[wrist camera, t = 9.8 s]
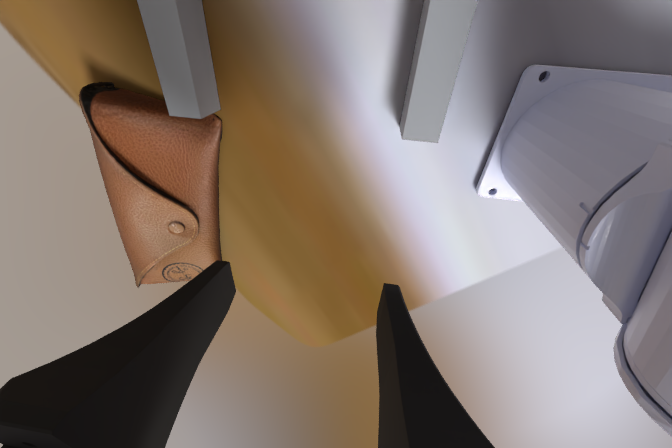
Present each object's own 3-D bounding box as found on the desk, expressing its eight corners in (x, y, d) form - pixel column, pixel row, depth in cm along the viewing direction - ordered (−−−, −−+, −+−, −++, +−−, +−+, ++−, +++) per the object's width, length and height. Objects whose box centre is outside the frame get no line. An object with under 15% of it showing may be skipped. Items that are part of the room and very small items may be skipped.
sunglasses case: (230, 285, 29) (163, 324, 24) (192, 249, 32) (127, 278, 27) (224, 109, 18) (105, 118, 14) (169, 80, 21) (55, 79, 16)
